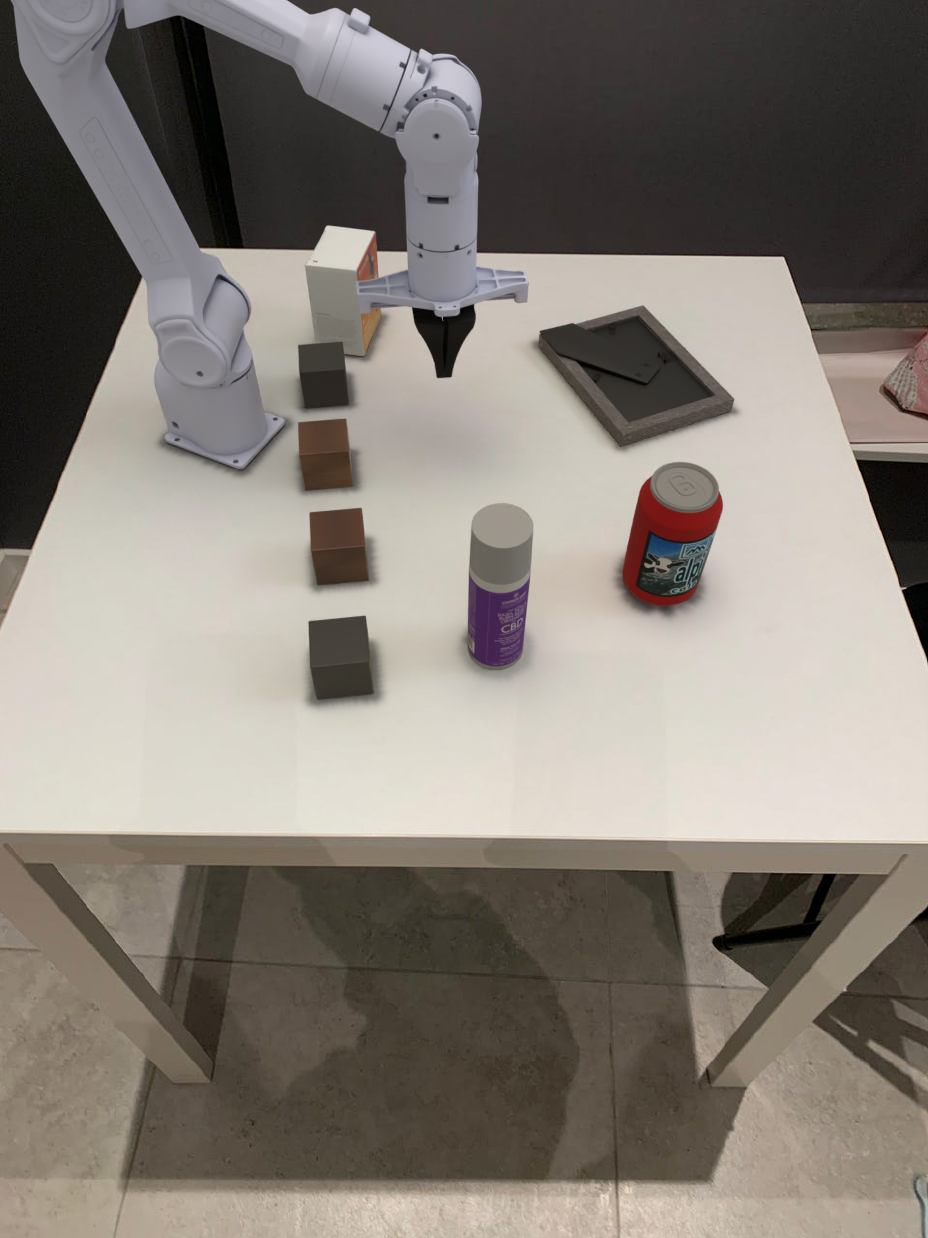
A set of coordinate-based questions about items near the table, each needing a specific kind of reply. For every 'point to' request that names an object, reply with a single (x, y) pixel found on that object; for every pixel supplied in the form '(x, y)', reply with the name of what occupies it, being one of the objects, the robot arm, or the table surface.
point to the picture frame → (634, 374)
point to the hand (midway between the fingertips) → (443, 371)
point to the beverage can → (672, 533)
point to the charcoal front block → (340, 657)
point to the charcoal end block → (323, 374)
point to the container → (498, 584)
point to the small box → (342, 287)
